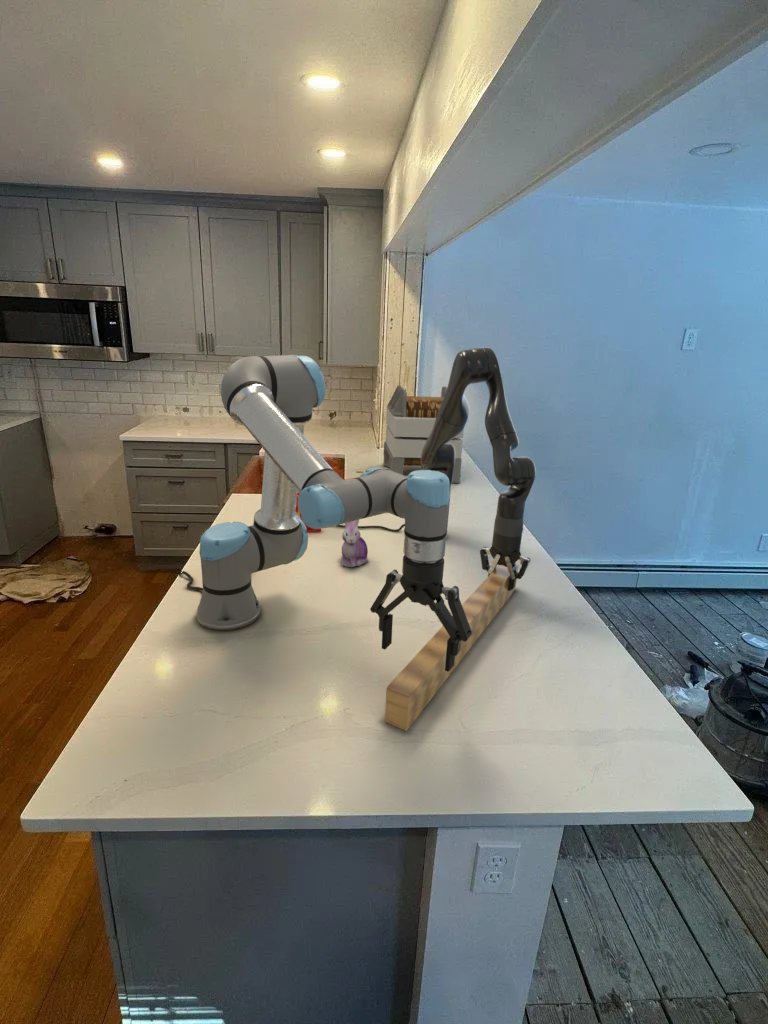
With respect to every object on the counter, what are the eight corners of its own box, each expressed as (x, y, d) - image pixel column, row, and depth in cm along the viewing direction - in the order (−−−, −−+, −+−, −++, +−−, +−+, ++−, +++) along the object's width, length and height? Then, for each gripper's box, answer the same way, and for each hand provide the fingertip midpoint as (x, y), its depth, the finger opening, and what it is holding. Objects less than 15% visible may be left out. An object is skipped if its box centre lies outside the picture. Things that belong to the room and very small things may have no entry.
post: (499, 585, 166) (502, 560, 163) (515, 589, 163) (518, 564, 161) (384, 721, 109) (386, 687, 106) (406, 731, 107) (408, 696, 104)
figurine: (346, 570, 170) (347, 523, 165) (333, 557, 178) (334, 512, 173) (374, 565, 174) (376, 519, 169) (360, 552, 183) (362, 509, 178)
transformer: (382, 463, 289) (386, 382, 275) (445, 464, 293) (451, 384, 279) (390, 482, 257) (394, 392, 243) (460, 483, 261) (468, 394, 247)
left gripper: (354, 547, 105) (352, 646, 112) (481, 580, 94) (470, 688, 101) (374, 535, 112) (371, 629, 119) (496, 565, 100) (485, 667, 107)
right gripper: (477, 528, 152) (471, 585, 158) (530, 540, 145) (522, 599, 151) (487, 520, 158) (481, 575, 164) (538, 531, 152) (529, 588, 157)
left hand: (417, 656), depth 110 cm, fingers open, 13 cm apart
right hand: (500, 586), depth 157 cm, fingers closed on post, 4 cm apart
